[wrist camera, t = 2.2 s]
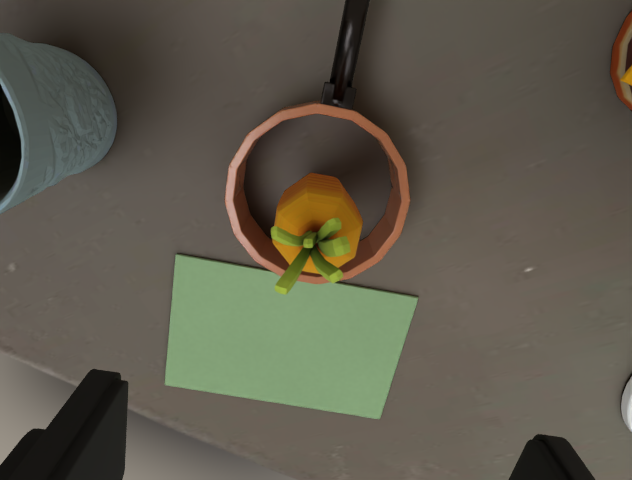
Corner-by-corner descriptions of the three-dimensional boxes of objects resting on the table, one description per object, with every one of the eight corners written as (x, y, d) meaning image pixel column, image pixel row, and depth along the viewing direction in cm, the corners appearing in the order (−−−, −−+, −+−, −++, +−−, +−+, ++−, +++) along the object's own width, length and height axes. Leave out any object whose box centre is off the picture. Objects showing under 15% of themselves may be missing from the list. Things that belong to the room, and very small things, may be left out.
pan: (376, 273, 34) (383, 296, 31) (227, 246, 34) (216, 266, 30) (462, -42, 27) (485, -62, 23) (271, -87, 26) (263, -115, 22)
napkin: (417, 296, 35) (418, 298, 35) (379, 417, 40) (379, 419, 39) (176, 253, 34) (175, 254, 34) (165, 382, 38) (164, 385, 38)
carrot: (293, 224, 33) (274, 330, 19) (277, 161, 31) (244, 227, 17) (355, 211, 32) (384, 309, 18) (343, 147, 31) (364, 202, 17)
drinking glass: (-37, 120, 30) (-247, 144, 19) (23, -6, 27) (-181, -66, 16) (90, 205, 32) (-30, 271, 21) (158, 96, 30) (61, 106, 18)
